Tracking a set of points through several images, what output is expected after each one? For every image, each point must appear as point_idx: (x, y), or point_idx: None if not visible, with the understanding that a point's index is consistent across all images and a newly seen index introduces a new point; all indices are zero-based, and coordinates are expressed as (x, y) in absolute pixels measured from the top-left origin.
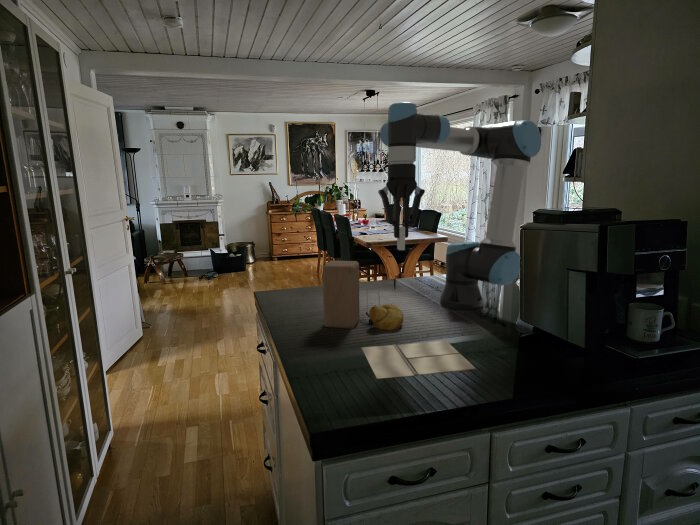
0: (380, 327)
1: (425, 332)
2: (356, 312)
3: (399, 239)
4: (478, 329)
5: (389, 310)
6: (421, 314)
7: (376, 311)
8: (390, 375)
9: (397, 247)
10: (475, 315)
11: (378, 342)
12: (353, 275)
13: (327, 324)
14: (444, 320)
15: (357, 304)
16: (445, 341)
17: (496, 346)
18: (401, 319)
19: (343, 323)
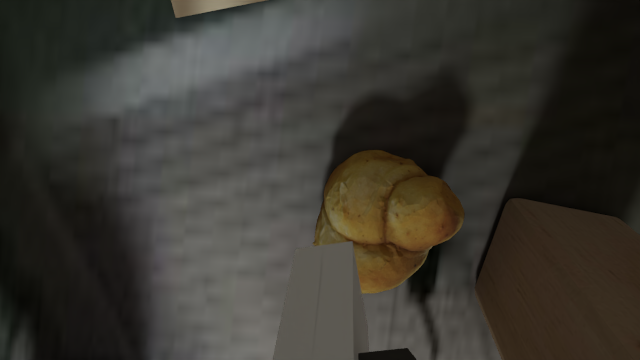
0: (412, 162)
1: (243, 153)
2: (505, 257)
3: (355, 326)
4: (54, 175)
5: (377, 213)
6: (239, 329)
7: (438, 193)
8: None
9: (365, 324)
10: (55, 309)
11: (430, 55)
12: (608, 334)
13: (613, 217)
14: (165, 267)
15: (506, 293)
16: (178, 7)
17: (2, 4)
18: (327, 188)
19: (554, 208)
